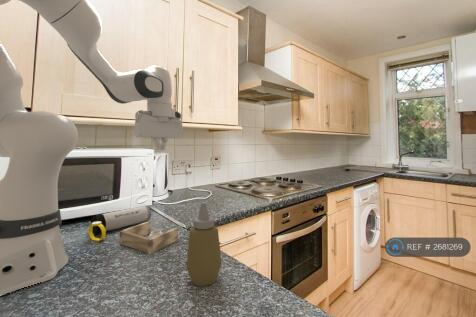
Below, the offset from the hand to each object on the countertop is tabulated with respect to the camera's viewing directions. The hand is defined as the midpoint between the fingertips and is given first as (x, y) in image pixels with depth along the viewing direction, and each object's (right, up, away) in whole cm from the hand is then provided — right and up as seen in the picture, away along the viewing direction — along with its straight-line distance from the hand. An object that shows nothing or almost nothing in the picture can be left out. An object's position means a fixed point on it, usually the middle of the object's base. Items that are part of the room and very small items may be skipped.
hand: (160, 149), depth 88 cm
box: (+1, -30, -12) cm, 32 cm away
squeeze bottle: (+21, -32, -33) cm, 51 cm away
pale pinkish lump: (+2, -30, -11) cm, 32 cm away
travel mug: (-8, -26, +8) cm, 28 cm away
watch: (-17, -30, -11) cm, 36 cm away
